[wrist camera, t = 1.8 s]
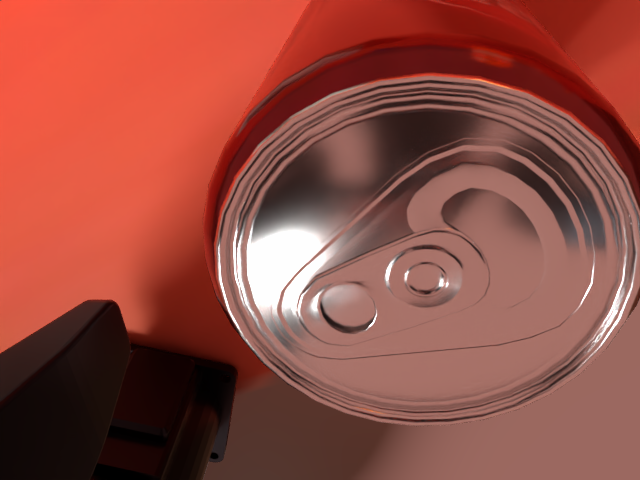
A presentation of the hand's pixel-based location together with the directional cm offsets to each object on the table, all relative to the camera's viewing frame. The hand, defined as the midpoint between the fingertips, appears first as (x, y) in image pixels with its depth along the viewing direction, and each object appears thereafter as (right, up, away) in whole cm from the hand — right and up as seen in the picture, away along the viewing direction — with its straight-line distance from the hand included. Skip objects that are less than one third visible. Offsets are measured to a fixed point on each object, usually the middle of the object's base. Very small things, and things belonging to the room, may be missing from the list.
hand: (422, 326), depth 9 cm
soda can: (+1, +7, +11) cm, 13 cm away
